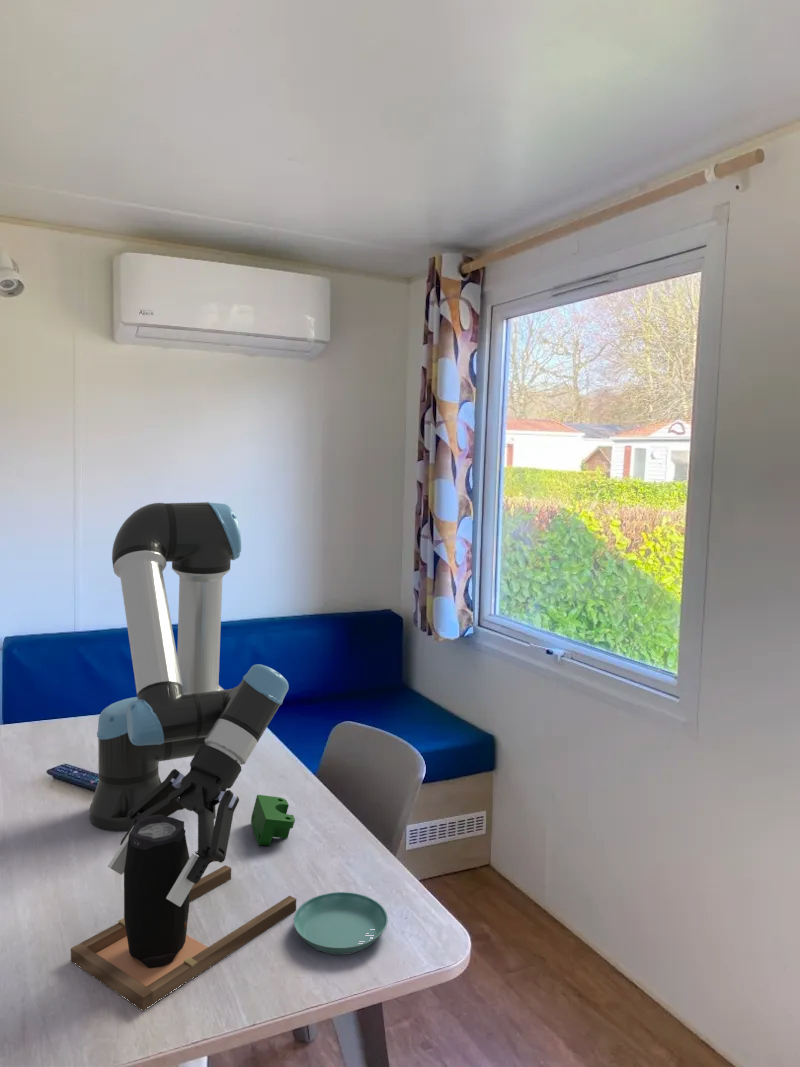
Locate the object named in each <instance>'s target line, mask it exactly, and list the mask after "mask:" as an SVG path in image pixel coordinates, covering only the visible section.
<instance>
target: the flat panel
mask: <svg viewBox="0 0 800 1067" xmlns="http://www.w3.org/2000/svg"><path fill="white" fill-rule="evenodd" d="M208 947H209V946H207V945H205V944H204V943H202V942H200V941H198V940H196V939H195V938H193V937H192V936H190V935H187V934H186V941H185V944H184V946H183V948H182V949H181V950H180V951H179V952H178V953H177V955H176V956H175V958H174V960H173V962H171V963H169V964H166V965H164V966H162V967H155V968H148V967H147V966H146V965H144V964H143V963H142V962H141V961H139V960H138V959H136V958H134V957H132V956H131V955H130V953H129V947H128V940H127V936H126V937H124V938H122V939H120V940H119V941H117V942H115V943H113V944H111V945H110V946H108V947H106V948H104V949H103V950H101V951H99V952H97V953H96V954H97V955H99V956H100V957H102V958H103V959H105V960H106V961H108V962H109V963H111V964H112V965H114V966H115V967H117V968H118V969H120V970H121V971H123V972H124V973H126V974H127V975H129V976H130V977H132V978H133V979H135V980H136V981H138V982H139V983H141V984H142V985H144V986H145V987H146V986H148V985H150V984H151V983H153V982H154V981H156V980H157V979H159V978H161V977H162V976H164V975H165V974H167V973H168V972H170V971H172V970H173V969H175V968H176V967H178V966H179V965H181V964H183V963H184V960H185V959H187V958H189V957H190V958H192V957H194V956H195V955H197V954H198V953H200V952H201V951H203V950H205V949H206V948H208Z"/></svg>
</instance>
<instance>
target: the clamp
mask: <svg viewBox="0 0 800 1067" xmlns="http://www.w3.org/2000/svg"><path fill="white" fill-rule="evenodd" d="M254 802H255V803H254V806H253V810H252V814H251V820H250V824H251V828H252V831H253V834H254V836H255V841H256V843H257V845H259V846H267V847H268V846H270V845H271V843H272V839H273V838H277V839H288V838H289V834H290V830H291V829H293V828H294V825H295V822H296V818H295V816H294V815H293V814H287V813H288V809H289V805H290V804H289V803H288V801H287V800H286V798H283V797H278V796H272V795H264V794H263V795H262V794H257V795H256V798H255V801H254Z"/></svg>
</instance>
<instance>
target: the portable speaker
mask: <svg viewBox="0 0 800 1067" xmlns="http://www.w3.org/2000/svg"><path fill="white" fill-rule="evenodd" d="M187 842H188V841H187V837H186V829H185V821H183V820H180V819H177V818H175V817H171V816H164V815H162V814H160V815H150V816H146V817H144V818H141V819H139V820H138V821H137V822H136V824H135V825H134V827H133V829H132V830H131V832H130V833H129V838H128V845H127V853H126V861H125V868H124V872H123V918H124V920H125V927H126V933H127V940H128V947H129V953H130V955H131V956H132V957H134V958H136V959H138V960H139V961H141V962H142V963H143V964H144V965H146V966H147V967H148V968H155V967H162V966H164V965H166V964H169V963H171V962H173V960H174V958H175V956H176V955H177V953H178V952H179V951H180V950H181V949H182V948H183V946H184V944H185V941H186V935H187V930H188V921H189V912H190V911H189V910H190V903H191V902H190V892H189V893H188V895H187V897H186V898H185V900H184V902H183V904H182V905H181V907H180V906H178V905H176V904H174V903H173V902H171V901H169V900H168V899H166V897H167V896H168V894H169V892H170V890H171V889H172V887H173V885H174V884H175V882H176V880H177V879H178V877H179V875H180V874H181V872H182V870H183V868H184V867H185V865H186V863H187V862H188V860H189V858H190V852H189V847H188V843H187Z"/></svg>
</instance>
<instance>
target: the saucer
mask: <svg viewBox="0 0 800 1067" xmlns="http://www.w3.org/2000/svg"><path fill="white" fill-rule="evenodd" d="M388 918H389V917H388V914H387V911H386V909H385V907H384V906H383V905H382V904H381V903H379V902H378V901H377V900H375V899H373V898H372V897H369V896H367V895H365V894H364V895H363V894H361V893H356V892H346V891H335V892H333V891H332V892H327V893H322V894H319V895H316V896H314V897H312V898H310V899H308V900H307V901H305V902H304V903H302V904H301V905H299V907H298V908H296V911H295V913H294V915H293V926H294V929H295V931H296V932H297V933H298V935H299V936H300V937H301V939H302V940H303V941H304V942H306V943H307V944H308V945H309V946H311V947H312V948H313V949H316V950H317V951H320V952H323V953H326V954H329V953H330V954H329V955H349V953H350V954H355V953H357V951H358V952H359V951H362V950H364V949H366V948H368V947H369V946H371V944H373V943H375V942H376V940H378V939H379V938H380V936H381V935H382V934H383V933H384V932H385V930H386V928H387V925H388V921H389V920H388ZM370 929H375V930H370ZM366 933H369V934H366ZM365 935H374V936H365ZM370 937H373V939H370ZM369 940H370V941H369ZM359 941H365V942H359ZM358 943H363V944H358Z"/></svg>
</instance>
